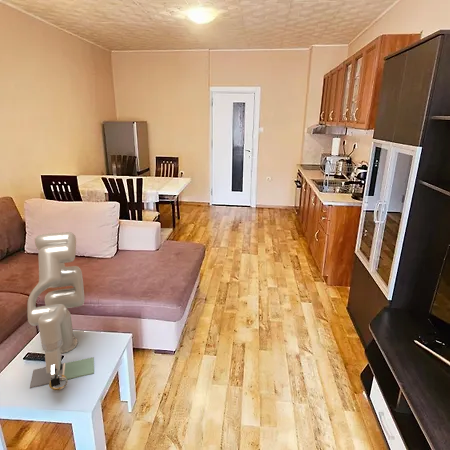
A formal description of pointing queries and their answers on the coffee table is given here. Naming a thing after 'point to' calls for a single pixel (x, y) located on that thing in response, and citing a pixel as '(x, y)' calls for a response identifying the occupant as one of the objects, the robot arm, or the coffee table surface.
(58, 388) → the ring
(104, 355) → the coffee table surface
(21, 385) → the coffee table surface
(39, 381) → the board
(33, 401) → the coffee table surface
